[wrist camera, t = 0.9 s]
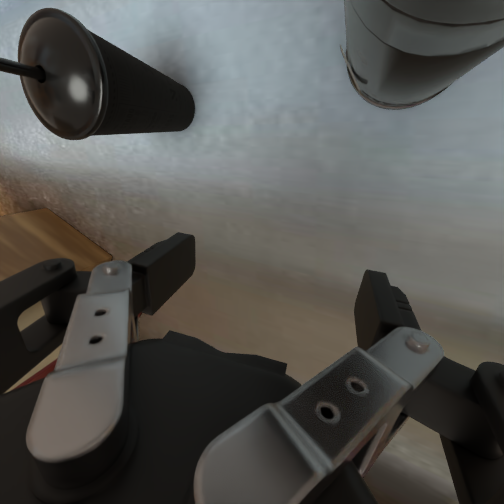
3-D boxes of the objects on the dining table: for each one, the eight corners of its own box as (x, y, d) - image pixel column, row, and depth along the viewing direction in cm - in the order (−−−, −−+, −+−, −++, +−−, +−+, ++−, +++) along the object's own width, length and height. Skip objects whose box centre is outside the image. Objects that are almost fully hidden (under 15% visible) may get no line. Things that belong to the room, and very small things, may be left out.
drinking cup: (192, 156, 31) (-15, 161, 14) (142, 125, 32) (-114, 93, 15) (216, 87, 28) (-22, -25, 10) (158, 55, 29) (-152, -99, 11)
